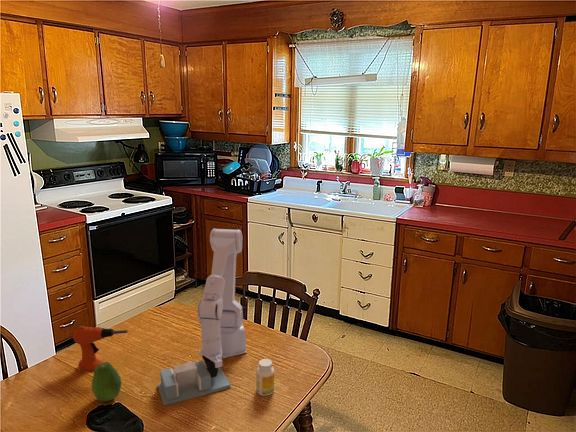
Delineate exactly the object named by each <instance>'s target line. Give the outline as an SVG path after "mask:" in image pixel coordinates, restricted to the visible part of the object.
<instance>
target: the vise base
mask: <svg viewBox="0 0 576 432" xmlns="http://www.w3.org/2000/svg"><path fill="white" fill-rule="evenodd" d="M159 373H160V382H159V383H157V388H158V391H159V394H160V395H159V396H160V398H161V401H162V405H163V406H164V407H165V406H169V405H173V404H176V403H181V402H183V401H186V400H187V401H188V400H190V399H194V398H197V397H202V396H205V395H208V394H212V393H216V392H219V391H223V390H227V389H230V388H232V386H231V383H230V381H229V380H228V378H227V375H226V374H225V373H224V370H223V369H222V368H221V367H219V368H218V373H217V376H216V377H213V378H211V389H208V390H204V391H201V390H200V389H199V387H197V388H193V389H189V390H185V391H182V392H178V383H177V381H176V378H175V376H174V370H173V368H170V367H169V368H166V369H161V370H160V371H159Z"/></svg>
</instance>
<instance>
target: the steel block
mask: <svg viewBox="0 0 576 432" xmlns="http://www.w3.org/2000/svg"><path fill="white" fill-rule="evenodd" d="M194 362H195V361H189V362H185V363H184V362H183V363H181V364H176V365H173V373H174V376H175V378H176V381H177V383H178V392H182V391H185V390H189V389H193V388H197V387H198V380H197V367H196V365H195V363H194Z"/></svg>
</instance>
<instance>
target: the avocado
mask: <svg viewBox="0 0 576 432" xmlns="http://www.w3.org/2000/svg"><path fill="white" fill-rule="evenodd" d="M121 379H122V377H121V376H120V374H119V372H118V371H117V369H115V367H114V366H113V365H112V364H111V362H109V361H103V362H102V363H100V364H99V365H98V366H97V367H96V368H95V371H93V375H92V380H91V389H92V390H91V391H92V393H93V394H94V397H95V398H96V399H97V400H98V401H100V402H109V401H112V400H113V399H115V398H116V397H117V396H118V395H119V394H120V391H121V388H122V380H121Z"/></svg>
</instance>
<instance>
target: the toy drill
mask: <svg viewBox="0 0 576 432" xmlns="http://www.w3.org/2000/svg"><path fill="white" fill-rule="evenodd" d="M127 333H128V330H127V329H124V330H123V329H122V330H119V329H118V330H114V329H112V328H105V327H101V326H94V327H92V326H84V325H80V326H79V327H78V328H77V329H76V330H74V332H73V334H72V338H73V341H74V343H76V344H77V345H80V346H79V347H80V349H81V359H80V360H79V361H78V369H79V370H81V371H86V372H88V371H89V372H94V371H95V368H96V367H97V366H98V365H99V364H100V363H102V362H104V361H103V360H100V359H98V358H97V356H96V354H97V353H98V352H99V350H100V349H99V348H98V347H97V346H96V343H94V342H97V341H101V340H102V339H104V340H105V338H109V337H113V336H114V335H118V334H127Z"/></svg>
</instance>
